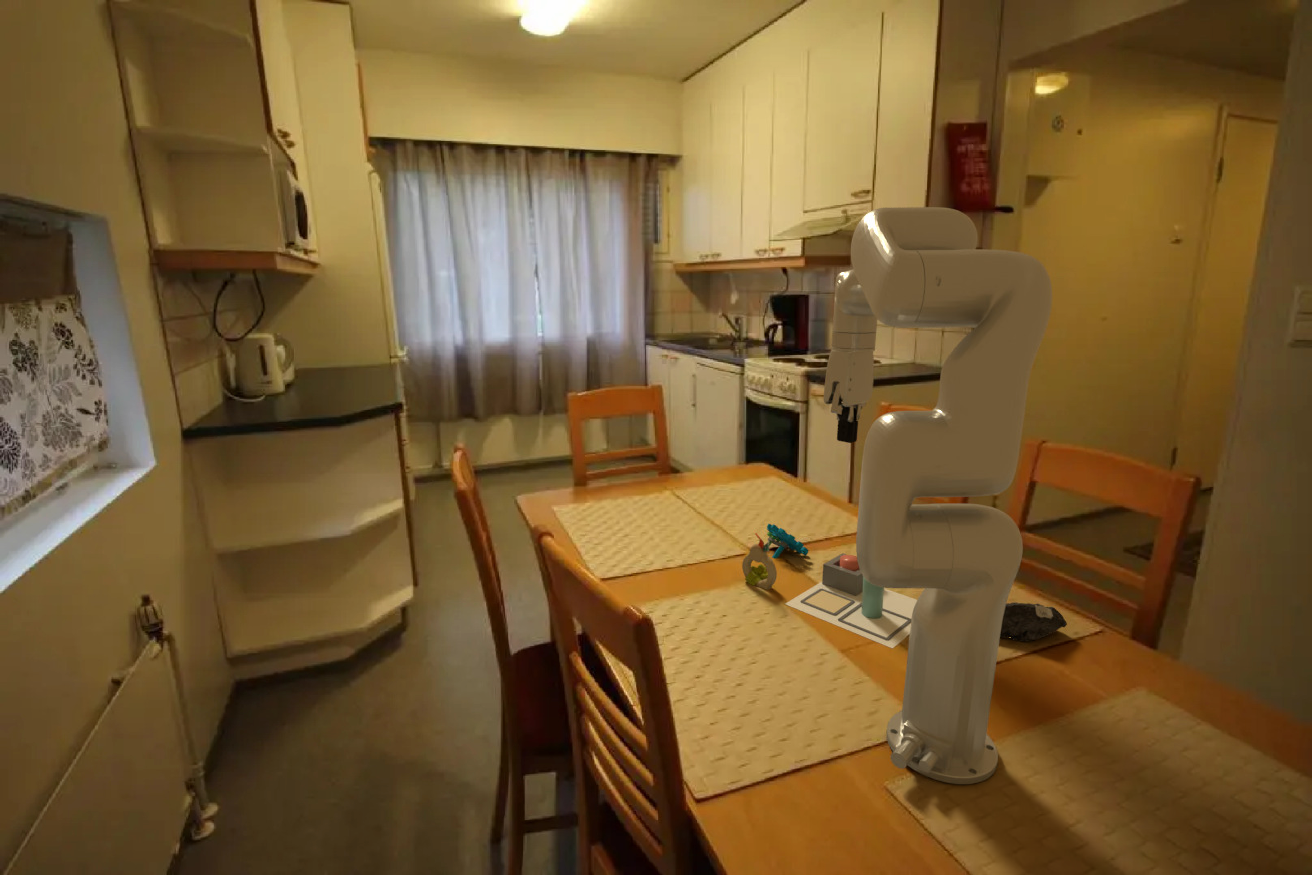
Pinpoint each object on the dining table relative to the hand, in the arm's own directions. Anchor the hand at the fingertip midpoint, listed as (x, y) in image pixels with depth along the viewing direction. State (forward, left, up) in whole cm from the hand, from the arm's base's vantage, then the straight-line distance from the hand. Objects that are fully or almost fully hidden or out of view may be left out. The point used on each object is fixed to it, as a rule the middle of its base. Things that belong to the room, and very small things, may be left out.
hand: (846, 440), depth 121 cm
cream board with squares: (-9, -10, -27) cm, 30 cm away
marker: (-10, -13, -26) cm, 31 cm away
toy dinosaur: (0, +13, -27) cm, 30 cm away
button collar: (-3, -4, -26) cm, 27 cm away
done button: (-3, -4, -26) cm, 27 cm away
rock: (+2, -32, -28) cm, 42 cm away
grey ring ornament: (-13, +7, -27) cm, 31 cm away
